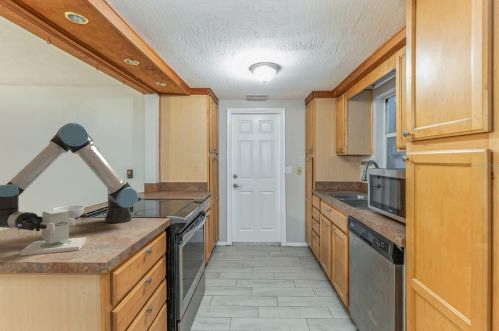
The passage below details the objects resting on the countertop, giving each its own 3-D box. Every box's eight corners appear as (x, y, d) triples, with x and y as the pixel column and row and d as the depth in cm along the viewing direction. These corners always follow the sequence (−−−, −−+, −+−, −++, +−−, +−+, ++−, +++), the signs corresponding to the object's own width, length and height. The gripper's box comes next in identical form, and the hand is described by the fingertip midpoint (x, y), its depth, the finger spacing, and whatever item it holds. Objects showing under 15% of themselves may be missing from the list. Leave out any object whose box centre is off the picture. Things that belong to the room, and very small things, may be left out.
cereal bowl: (46, 219, 164) (46, 208, 164) (74, 215, 179) (74, 204, 179) (61, 223, 156) (61, 211, 156) (89, 217, 171) (89, 206, 171)
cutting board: (86, 240, 125) (86, 236, 124) (79, 250, 111) (79, 246, 111) (34, 244, 117) (34, 240, 117) (19, 255, 104) (19, 251, 104)
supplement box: (49, 243, 109) (49, 213, 109) (41, 240, 113) (41, 211, 113) (69, 239, 115) (69, 210, 115) (61, 236, 119) (61, 208, 119)
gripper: (47, 223, 129) (85, 226, 124) (-5, 235, 108) (38, 240, 103) (47, 208, 129) (85, 210, 123) (-5, 217, 108) (38, 221, 103)
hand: (64, 224), depth 113 cm, fingers closed on supplement box, 9 cm apart
